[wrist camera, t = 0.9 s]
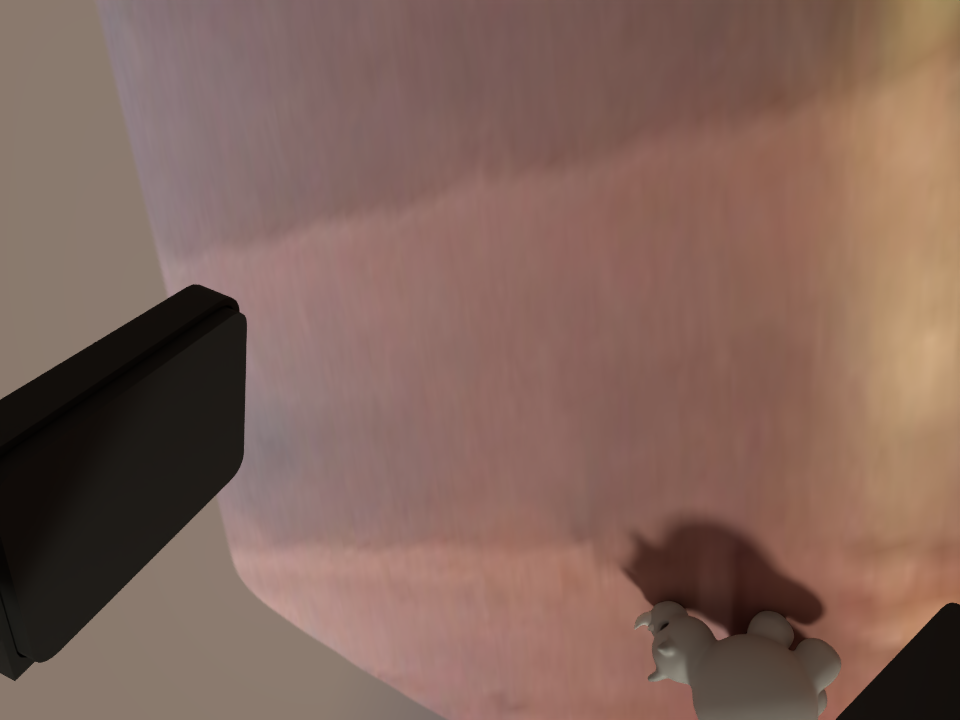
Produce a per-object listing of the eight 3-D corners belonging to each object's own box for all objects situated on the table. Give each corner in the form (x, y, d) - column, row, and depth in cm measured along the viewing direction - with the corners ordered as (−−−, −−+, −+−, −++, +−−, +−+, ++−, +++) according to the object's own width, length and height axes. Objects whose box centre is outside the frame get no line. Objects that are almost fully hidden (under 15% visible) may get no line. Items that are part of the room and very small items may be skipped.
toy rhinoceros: (686, 541, 50) (616, 608, 44) (863, 648, 43) (805, 744, 38) (666, 611, 54) (599, 681, 48) (826, 721, 47) (769, 817, 41)
